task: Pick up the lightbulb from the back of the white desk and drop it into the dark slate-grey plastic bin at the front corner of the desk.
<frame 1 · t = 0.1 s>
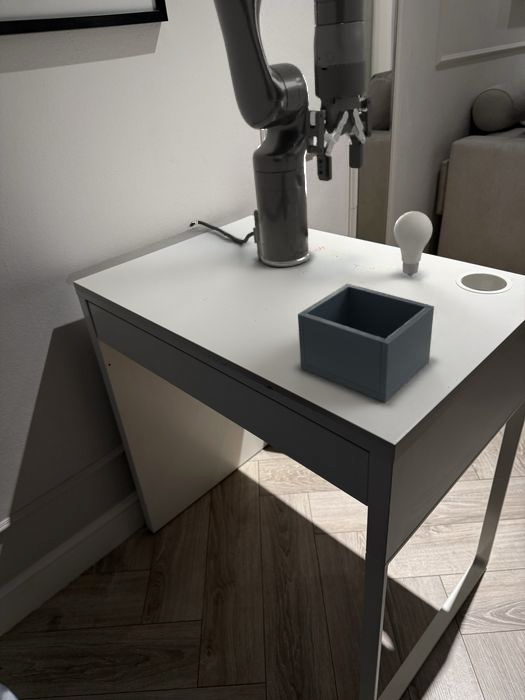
hand: (340, 173, 84), 17 cm above the table, tool pointing down, fingers open, 8 cm apart
bin: (364, 365, 67), on the table
lightbulb: (409, 276, 89), on the table
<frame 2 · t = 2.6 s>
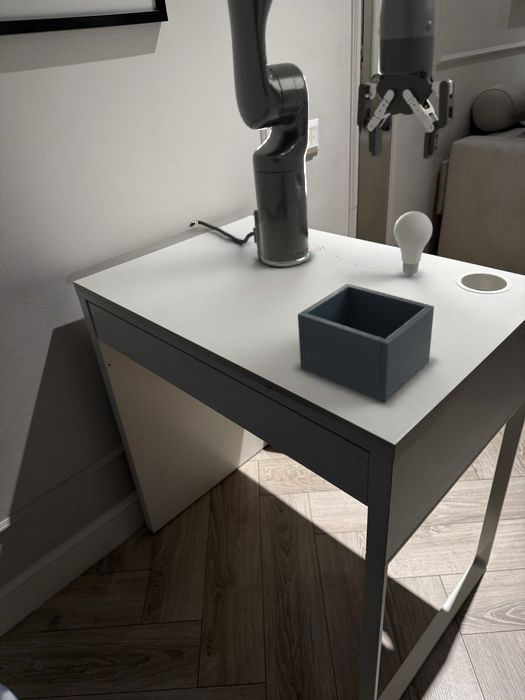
hand: (401, 156, 80), 20 cm above the table, tool pointing down, fingers open, 8 cm apart
nothing on the table moved.
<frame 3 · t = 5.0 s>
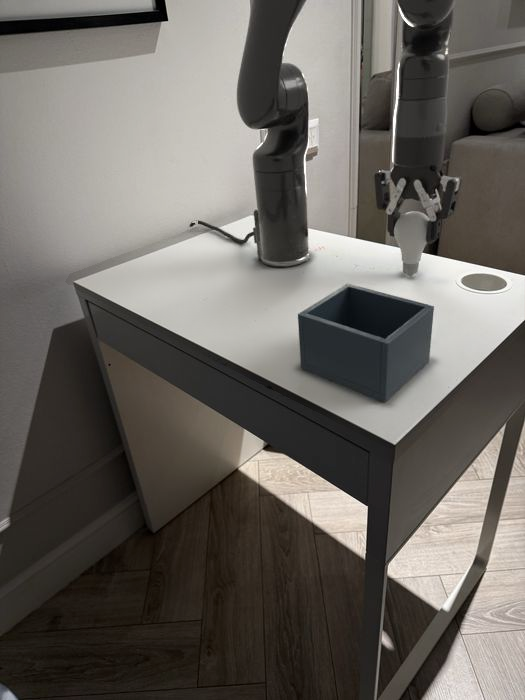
hand: (412, 238, 86), 7 cm above the table, tool pointing down, fingers closed on lightbulb, 6 cm apart
lightbulb: (409, 276, 89), on the table, touching gripper
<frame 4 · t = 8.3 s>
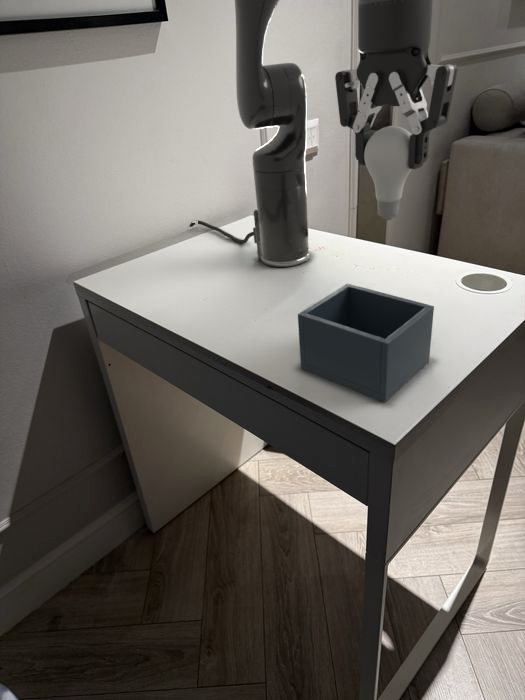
hand: (389, 165, 62), 23 cm above the table, tool pointing down, fingers closed on lightbulb, 6 cm apart
lightbulb: (387, 221, 66), point 16 cm above the table, touching gripper
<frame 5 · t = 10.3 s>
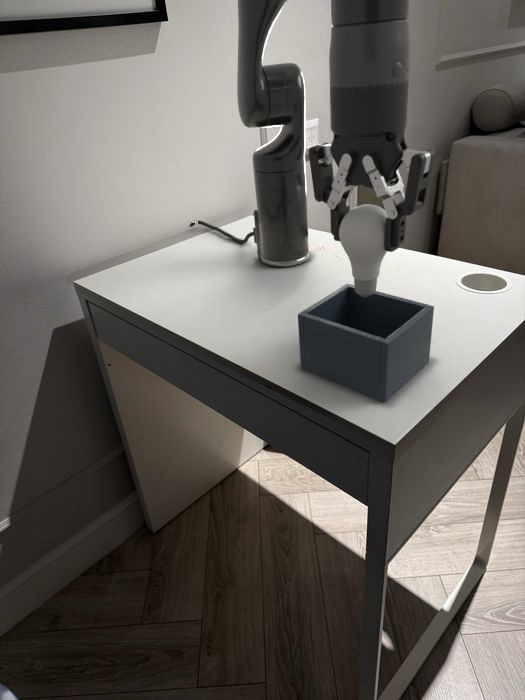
hand: (366, 243, 59), 16 cm above the table, tool pointing down, fingers closed on lightbulb, 6 cm apart
lightbulb: (365, 297, 62), point 10 cm above the table, touching gripper
when the fingers open (13 cm above the table, at t = 11.7 s): lightbulb drops 5 cm, resting on bin.
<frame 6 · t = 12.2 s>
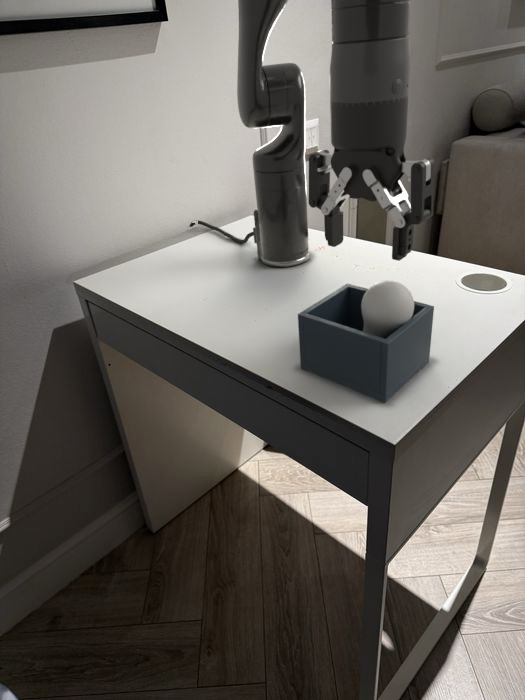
hand: (366, 250, 59), 16 cm above the table, tool pointing down, fingers open, 8 cm apart
lightbulb: (365, 357, 67), point 1 cm above the table, touching bin
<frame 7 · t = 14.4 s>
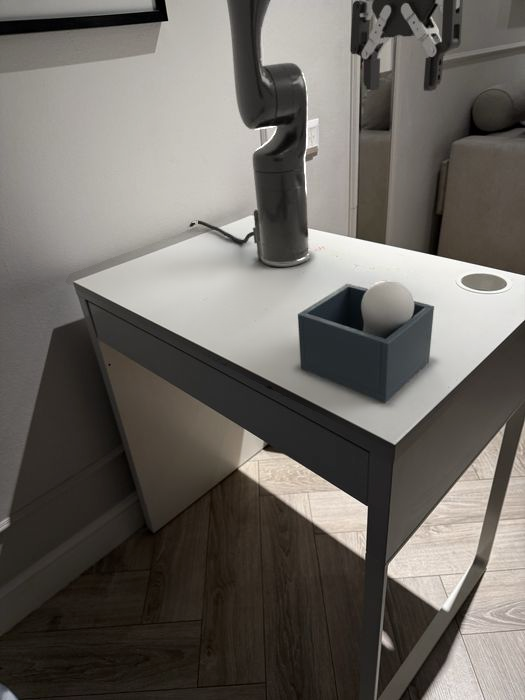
hand: (400, 90, 68), 30 cm above the table, tool pointing down, fingers open, 8 cm apart
nothing on the table moved.
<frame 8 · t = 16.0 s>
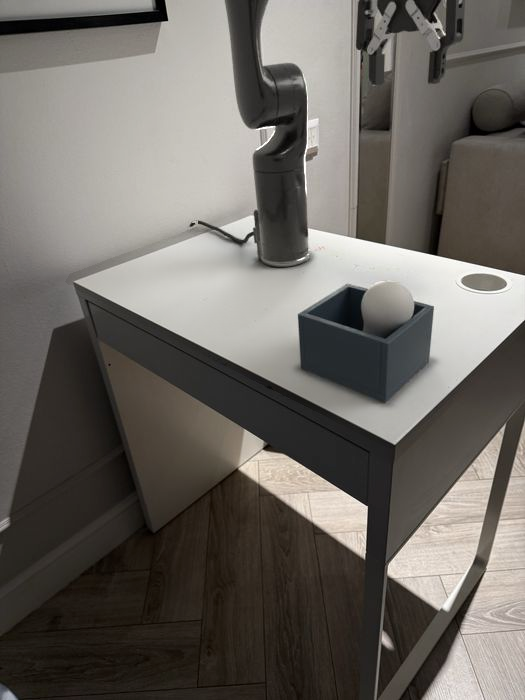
hand: (404, 84, 71), 30 cm above the table, tool pointing down, fingers open, 8 cm apart
nothing on the table moved.
at the end: lightbulb inside the target area in the bin (0.1 cm from its centre), point 1.2 cm above the bin's base; the gripper is holding nothing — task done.
